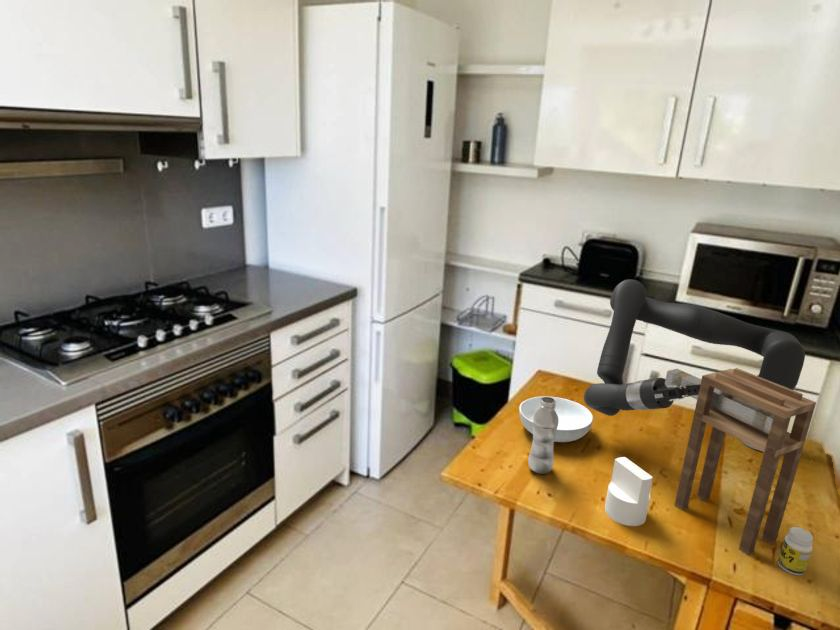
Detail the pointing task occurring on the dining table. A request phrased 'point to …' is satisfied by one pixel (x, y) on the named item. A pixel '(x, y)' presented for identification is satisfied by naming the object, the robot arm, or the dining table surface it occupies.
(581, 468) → the dining table surface
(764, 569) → the dining table surface
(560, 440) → the serving bowl
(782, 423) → the walnut shelf
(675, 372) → the bar
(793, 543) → the supplement bottle
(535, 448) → the plastic bottle
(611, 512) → the base with upright slab
